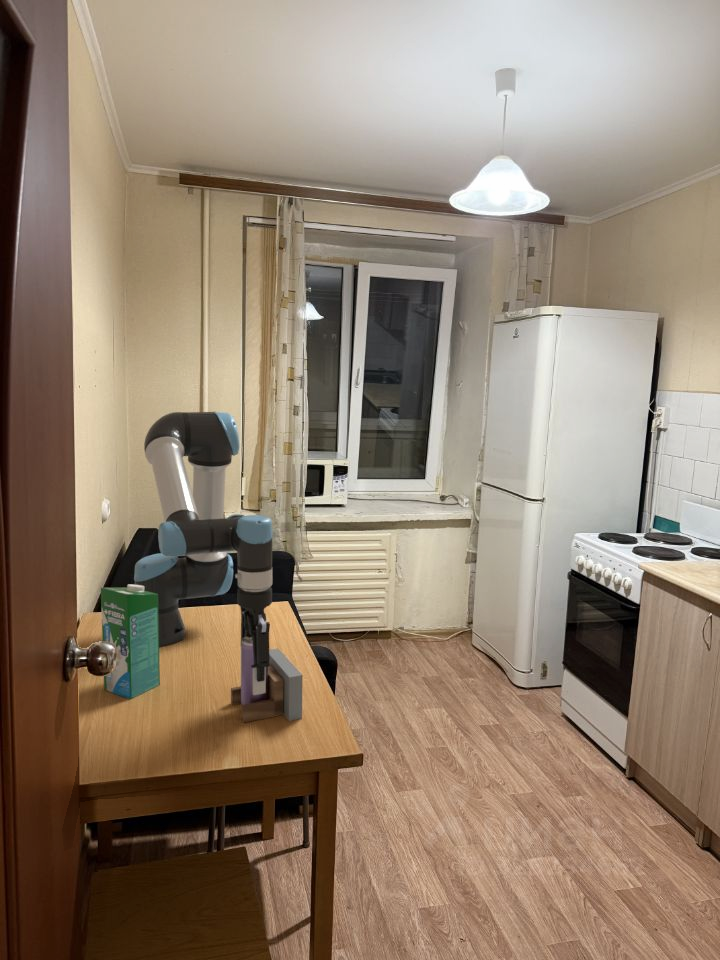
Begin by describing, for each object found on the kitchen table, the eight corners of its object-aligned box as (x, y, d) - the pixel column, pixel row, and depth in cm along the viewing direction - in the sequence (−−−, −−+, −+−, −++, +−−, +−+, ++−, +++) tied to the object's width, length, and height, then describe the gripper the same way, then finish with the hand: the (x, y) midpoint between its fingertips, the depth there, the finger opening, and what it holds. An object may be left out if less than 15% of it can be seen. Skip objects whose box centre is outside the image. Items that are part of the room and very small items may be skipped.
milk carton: (160, 684, 164) (158, 584, 161) (130, 699, 157) (127, 594, 153) (134, 675, 169) (131, 577, 165) (103, 689, 161) (100, 587, 158)
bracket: (230, 702, 156) (230, 669, 155) (268, 695, 160) (268, 662, 159) (243, 722, 147) (243, 687, 146) (283, 714, 151) (283, 680, 150)
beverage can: (262, 711, 150) (262, 645, 148) (236, 707, 151) (236, 643, 149) (271, 698, 156) (272, 635, 153) (246, 695, 157) (246, 633, 155)
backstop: (265, 690, 163) (265, 650, 161) (277, 688, 164) (278, 648, 163) (289, 721, 149) (289, 677, 147) (302, 718, 150) (302, 675, 149)
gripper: (226, 577, 156) (226, 673, 160) (250, 602, 139) (250, 709, 143) (258, 573, 159) (257, 667, 163) (285, 597, 143) (284, 702, 146)
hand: (254, 686), depth 153 cm, fingers closed on beverage can, 6 cm apart
